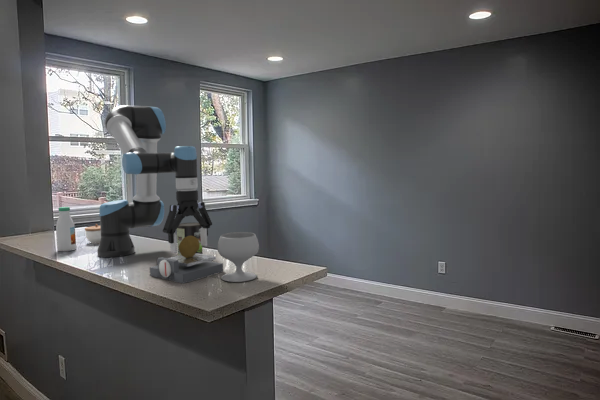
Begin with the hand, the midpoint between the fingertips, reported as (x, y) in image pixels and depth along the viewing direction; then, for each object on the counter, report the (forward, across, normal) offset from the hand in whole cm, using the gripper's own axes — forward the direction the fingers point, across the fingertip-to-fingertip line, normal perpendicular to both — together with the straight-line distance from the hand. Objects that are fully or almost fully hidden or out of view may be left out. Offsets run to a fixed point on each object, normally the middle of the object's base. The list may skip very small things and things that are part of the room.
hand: (189, 248), depth 155 cm
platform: (+4, 0, 0) cm, 4 cm away
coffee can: (+9, +16, +20) cm, 27 cm away
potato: (+3, 0, 0) cm, 3 cm away
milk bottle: (+9, -4, +82) cm, 83 cm away
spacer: (+9, +12, +6) cm, 16 cm away
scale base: (+9, -2, 0) cm, 9 cm away
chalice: (+9, +4, -20) cm, 22 cm away
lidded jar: (+9, +14, +88) cm, 89 cm away
